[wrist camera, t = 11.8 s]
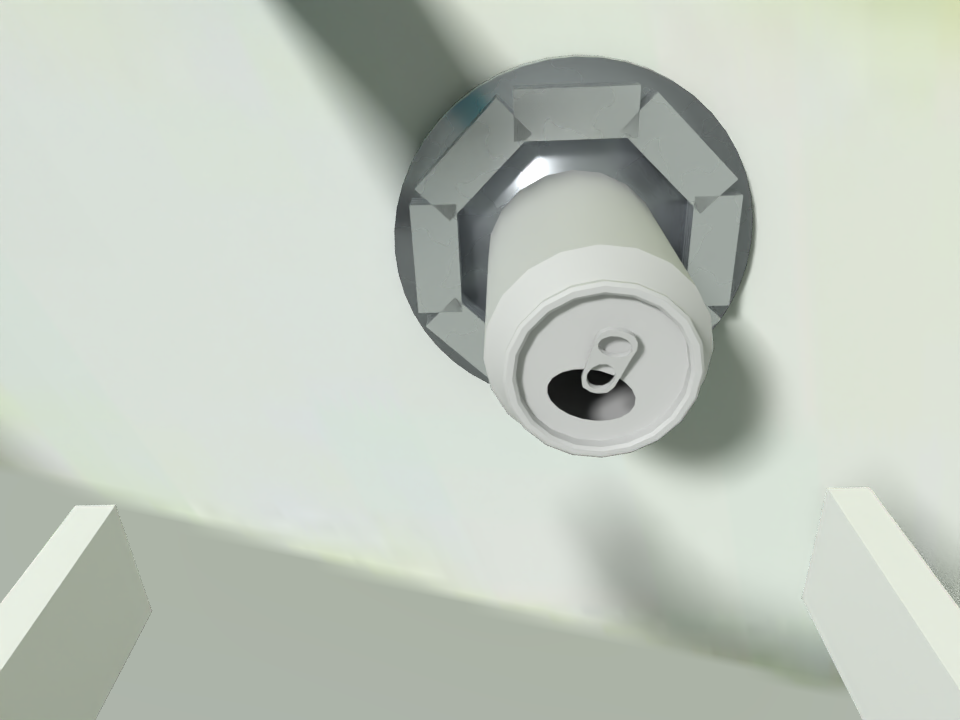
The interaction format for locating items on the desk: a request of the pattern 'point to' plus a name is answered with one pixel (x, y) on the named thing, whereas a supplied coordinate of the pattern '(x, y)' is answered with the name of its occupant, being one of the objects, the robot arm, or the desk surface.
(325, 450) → the desk surface
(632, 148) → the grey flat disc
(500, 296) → the can
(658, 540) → the desk surface
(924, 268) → the desk surface
